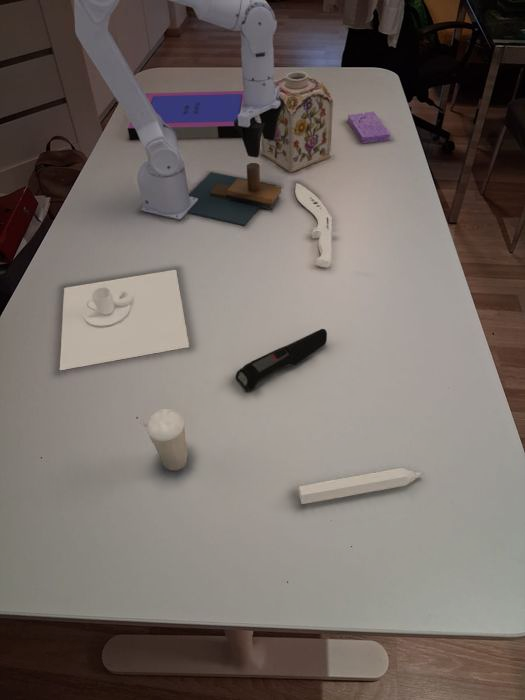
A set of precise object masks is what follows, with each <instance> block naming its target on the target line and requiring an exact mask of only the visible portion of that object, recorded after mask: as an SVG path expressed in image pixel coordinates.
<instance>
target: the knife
mask: <svg viewBox="0 0 525 700" xmlns="http://www.w3.org/2000/svg"><path fill="white" fill-rule="evenodd" d="M294 193H295V197H296V199H297V201H298V202H299V203H300V204H301V205H302V206H303V207H304V208H305V209H307V210H308V211H309V212H310V213H311V214H312V215H313V216H314V217H315V218H316V222H317V225H316V227H314V228H313V230H311V233H310V236H311V237H312V239H318V242H317V246H318V249H319V253H320V256H319V257H316V258H315V260H314V264H315V265H316V266H318V267H321V268H329V267H330V266H331V265H332V261H333V260H332V259H333V226H332V225H333V223H332V222H333V219H332V218H333V217H332V215H331V214H330V212H329V211H328V209H327V208H326V206H325V205H324V203H323V202H322V201H321V200H320V198H318V196H316V194H314V193H313V192H312V191H310V189H308V188H307V187H305V186H303V185H302V184H300V183H298V182H296V184H295V188H294Z"/></svg>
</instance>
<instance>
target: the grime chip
mask: <svg viewBox="0 0 525 700" xmlns="http://www.w3.org/2000/svg"><path fill="white" fill-rule="evenodd" d="M229 188H230V186H229V185H224V184H219V183H218V184H217V185H216V186H215V187H214V188H213V190H212V191H211V192H210V196H215V197H219V198H224V199H227V198H228V197H229V196H230V195H228V193H227V190H228V189H229Z"/></svg>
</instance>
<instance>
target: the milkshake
mask: <svg viewBox="0 0 525 700" xmlns="http://www.w3.org/2000/svg"><path fill="white" fill-rule="evenodd" d="M135 417H136V418H135V420H136V421H137V422H138V423H139V424H141V425H142V426H143V427H144V428H145V429H146V432H147V435H148V437H149V438H150V441H151V442H152V444H153V446H154V448H155V449H156V451H157V454H158V455H159V456H158V457H159V458H160V460H161V462H162V464H163V466H164V468H165V469H167V470H169V471H170V472H171V471H173V472H174V471H180V470H181V469H183V468H184V467H185V466H186V465H187V462H188V460H189V457H188V448H187V447H188V446H187V441H186V440H187V439H186V429H185V420H184V417H183V416H182V414H181V413H180V412H179V411H178V410H175V409H173V408H161V409H159V410H157V411H156V412H154V413H153V414H151V416H149V417H148V419H147V422H146V423H145V422H144V421H143V420H142V419H140V418H139V417H138V416H135Z"/></svg>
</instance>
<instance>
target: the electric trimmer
mask: <svg viewBox="0 0 525 700" xmlns="http://www.w3.org/2000/svg"><path fill="white" fill-rule="evenodd" d="M327 338H328V332H327V330H326V329H325V328H320V329H319V330H316V331H314V332H312V333H310V334H308V335H306V336H303V337H302V338H300V339H298V340H296V341H293V342H291V343H289V344H287V345H285V346H281V347H280V348H277V349H275V350H273V351H271V352H269V353H266V354H263V355H262V356H260V357H258V358H256V359H254V360H252V361H250V362H248V363H245V364H244V365H243V366H242V367H241V368H240V369H239V370H237V372H236V374H235V380H236V382H237V384H239V386H240V387H241V388H242V389H243V391H244V392H246V391H252V390H254V389H255V387H256V386H257V384H258V383H259V382H261V381H262V380H264V379H266V378H267V377H270V376H271V375H273V374H275V373H276V372H279V371H281V370H282V369H284V368H285V367H288V366H296V365H297V366H298V364H300V363H301V362H303V361H304V360H306V359H307V358H309V357H310V356H311V355H313V354H314V353H315V352H317V351H318V350H319V349H321V348H323V347H324V346H325V345H326V343H327Z"/></svg>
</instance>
